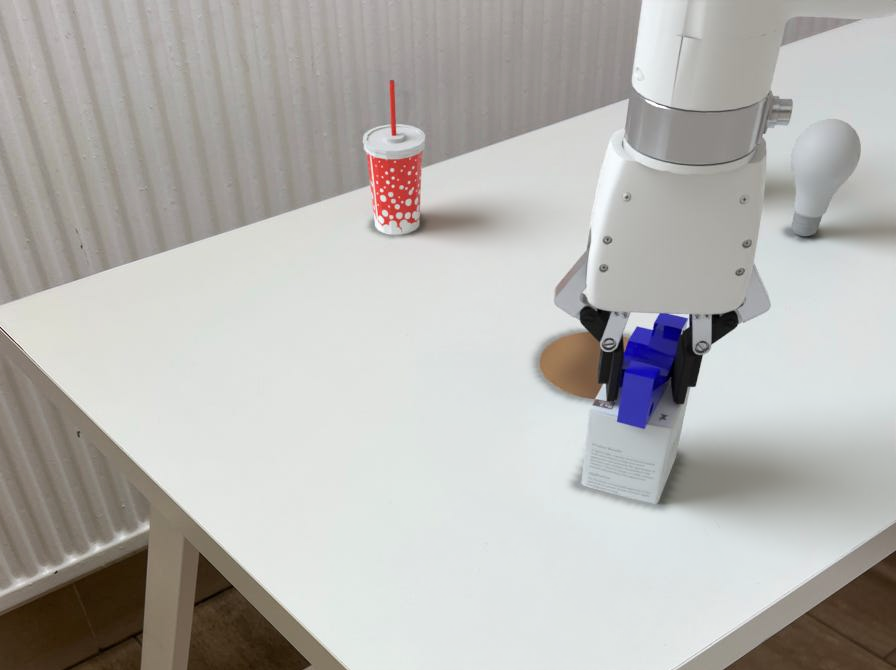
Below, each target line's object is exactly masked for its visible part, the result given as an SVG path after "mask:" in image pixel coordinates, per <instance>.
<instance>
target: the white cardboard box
mask: <svg viewBox="0 0 896 670" xmlns="http://www.w3.org/2000/svg"><path fill="white" fill-rule="evenodd" d="M621 392H622V387H619V392H618V398H617V400H614V402H607V399H606V384H603V385H602V387H601V389H600V391H599V393H598V395H597V397H596V399H594V401H593V402H592V403H591V406H590V408H589V411H588V417H587V418H588V419H587V428H586V437H585V447H584V455H583V466H582V475H581V476H582V477H581V485H582V486H584V487H586V488H590V489H594V490H598V491H600V492H605V493H608V494H612V495H616V496H621V497H624V498H629V499H631V500H632V499H633V500H636V501H640V502H645V503H649V504H653V505H658V504H659V502H660V500H661V498H662V497H661V496H662V494H663V492H664V489H665V487H666V484H667V481H668V479H669V477H670V472H671V471H672V468H673V466H674V463H675V460H676V458H677V454H678V449H679V444H680V439H681V434H682V430H683V425H684V421H685V420H684V419H685V415H686V411H687V406H688V402H689V397H690V392H691V387H688V389H687V393H686V398H685V402H684V404H676V402H673V396H672V388H671V381H670V383H669V385H668V387H667V389H666V390H665V392H664V394H663V396H662V398H661V400H660V402H659V403H658V405H657V407H656V409H655V411H654V413H653V415H652V416H651V418H650V420H649V422H648V424H647V426H646V428H645V429H642V428H638V427H634V426H631V425H627V424H623V423H619V422H617V417H618V411H619V405H620V398H621Z"/></svg>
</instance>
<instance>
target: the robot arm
mask: <svg viewBox="0 0 896 670" xmlns="http://www.w3.org/2000/svg"><path fill="white" fill-rule="evenodd" d="M895 15H896V0H641V7H640V15H639V21H638V29H637V37H636V44H635V50H634V51H635V52H634V59H633V66H632V75H631V83H630V89H629V95H628V102H627V103H628V105H627V111H626V120H625V126H624V128H619V129H618V130H615V131H614V132H612V134H611V136H610V138H609V141H608V144H607V147H606V149H605V153H604V157H603V160H602V164H601V167H600V171H599V175H598V180H597V184H596V185H597V186H596V190H595V195H594V199H593V204H592V210H591V216H590V222H589V228H588V235H587V240H586V246H585V247H586V249H585V251H584V253H582V255H581V256H580V257H579V259H578V260H577V261H576V262H575V263H574V265H573V266H572V267H571V268H570V269H569V271H568V272H567V273H566V274H565V275H564V277H563V278H562V279H561V280H560V282H558V284H557V285H556V286H555V288H554V291H553V303H554V306H556V307H557V308H558V309H560V310H561V311H563V312H564V313H566V314H567V315H569V316H570V317H572V318H575V319H577V320H579V323H580V324H581V325H582V326H583V327H584V328H585V329H586V331H587V332H590V333H591V334H592V335H593V336H594V337H595V338H596V339H597V340H598V342H599V343H600V347H601V350H600V357H599V364H598V374H597V381H598V384H606V399H607V402H614V400H617V398H618V392H619V386H620V380H621V373H622V367H623V361H624V343H623V336H624V331H625V329H626V326H627V323H628V321H629V318H630V315H631V314H632V313H634V314H635V313H639V314H640V313H641V314H642V313H643V314H660V313H666V314H671V315H688V327H686V329H685V330H683V333H682V334H680V335H679V339H678V344H677V349H676V354H675V359H674V364H673V369H672V374H671V388H672V396H673V402H676V404H684V402H685V398H686V393H687V389H688V387H690V388H696V387H697V383H698V379H699V375H700V370H701V366H702V362H703V357H704V355H706V354H708V353H709V352H710V351H711V350H712V345H713V344H715V343H716V342H718V341H719V340H721V339H722V338H724V337H726V336H727V335H728V334H730V333H731V332H732V331H733V330H735V329H736V328H738V325H740V324H742V323H743V324H744V323H746V322H749V321H751V320H753V319H754V318H757V317H758V316H761V315H763V314H765V313H767V312H768V311H769V310H770V309H771V306H772V305H771V300H770V296H769V292H768V290H767V288H766V286H765V284H764V281H763V279H762V277H761V274H760V273H759V270H758V268H757V266H756V264H755V259H756V252H757V247H758V246H757V244H758V239H759V234H760V229H761V228H760V227H761V220H762V213H763V207H764V199H765V198H764V197H765V190H766V189H765V188H766V176H767V154H768V153H767V142H766V139H765V138H764V137H763V136H764V135H766V133H767V131H768V129H774V128H775V127H776V126H788V125H789V124H790V121H791V119H792V113H793V105H794V102H793V101H794V100H793V99H792V98H780V96H779V95H774V94H773V92H772V89H771V88H772V84H773V80H774V75H775V72H776V68H777V63H778V58H779V54H780V49H781V47H782V46H781V45H782V42H783V37H784V33H785V29H786V25H787V22H788V21H790V20H791V19H793V18H796V17H801V18H802V17H803V18H804V17H807V18H830V19H844V20H874V19H881V18H882V19H883V18H886V17H887V18H888V17H891V16H895ZM585 290H586V294H585V293H584V291H585Z"/></svg>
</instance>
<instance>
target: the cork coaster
mask: <svg viewBox="0 0 896 670" xmlns="http://www.w3.org/2000/svg"><path fill="white" fill-rule="evenodd" d="M629 338H630V337H627V336H624V335H623V343H624V352H625V349H626V346H627V343H628V340H629ZM600 350H601V347H600V343H599V342H598V340H597V339H596V338H595V337H594V336H593V335H592V334H591V333H590V332H589V331H582V332H575V333H571V334H566V335H564V336H561V337H559V338H557V339H555V340H553V341H552V342H550V343H549V344H548V345H546V347H545V348H544V349H543V350H542V353H541V354H540V357H539V361H538V362H539V369H540V372H541V374H542V375H543V377H544V378H545V380H546V381H548V383H550V385H552V386H554V387H555V388H557V389H559V390H560V391H563V392H564V393H567V394H569V395H572V396H576V397H580V398H584V399H591V400H595V399H596V397H597V395H598V393H599V391H600V389H601V387H602V385H603V384H598V381H597V374H598V364H599V357H600Z"/></svg>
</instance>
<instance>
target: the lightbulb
mask: <svg viewBox="0 0 896 670" xmlns="http://www.w3.org/2000/svg"><path fill="white" fill-rule="evenodd" d="M861 147H862V145H861V139H860V137H859V134H858V132H857V131H856V129H855V128H854V127H853V126H852V125H851V124H849V123H848V122H846V121H844V120H842V119H839V118H838V119H837V118H826V119H823V120H822V119H821V120H819V121H817V122H814V123H812V124H811V125H809V126H808V127H807V128H805V130H803V132H802V133H801V134H800V135H799V136H798V138H796V140H795V143H794V145H793V147H792V150H791V154H790V168H791V173H792V177H793V181H794V186H795V198H794V203H793V210H794V213H793V217H792V222H791V226H790V229H791V231H792V232H793V233H794V234H796V235H798V236H799V237H810V236H813V235H815V234H817V232H818V229H819V226H820V224H821V221H822V218H823V216H824V215H825V214H826V212H827V211H828V208H829V206H830V203H831V201H832V199H833V196H835V194H836V193H837V191H839V189H840V188H841V187H842V186H843V185H844V184H845V183H846V181H847V180H848V179H849V178H850V177H851V176H852V174H854V172H855V170H856V168H857V167H858V165H859V162H860V158H861V152H862V149H861Z"/></svg>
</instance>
